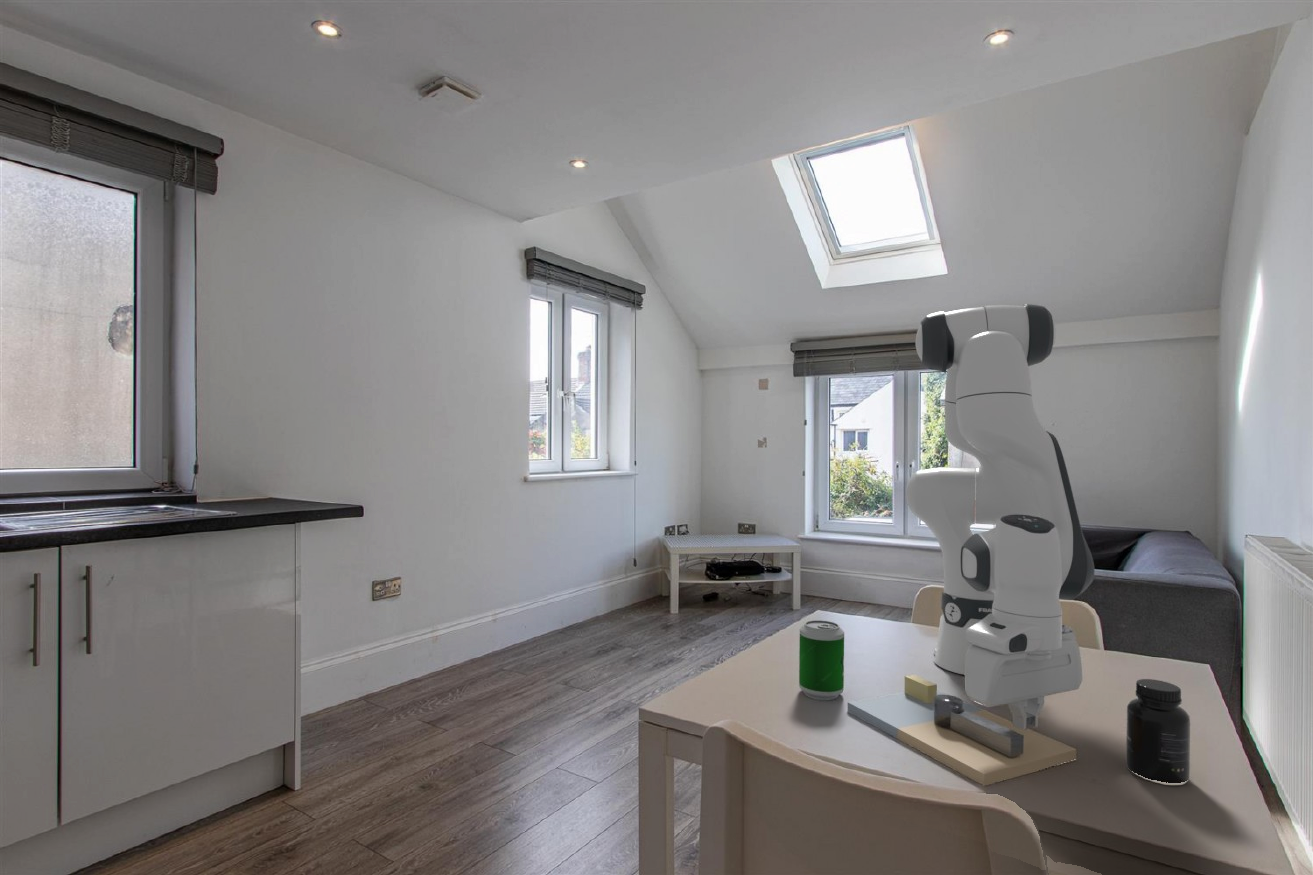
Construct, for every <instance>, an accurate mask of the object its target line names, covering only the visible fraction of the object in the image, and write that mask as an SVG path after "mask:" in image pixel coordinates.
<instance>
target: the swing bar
mask: <svg viewBox="0 0 1313 875" xmlns="http://www.w3.org/2000/svg"><path fill="white" fill-rule="evenodd" d="M963 701H964V700H963V699H962V698H960V697H957V696H954V695H950V694H948V695H936V696H934V722H935V723H936V724H937V725H939V726H942V727H945V728H951V729H953V730H955V731H957V732H959V733H961V734H963V735H965V736H967V737H970V738H972V739H974V740H976V741H978V742H980V743H982V744H984V745H986V746H988V747H990V748H992V749H994V750H997V751H999V752H1001V753H1003V754H1005V755H1007V756H1009V757H1014V756H1017V755H1021V754H1023V745H1024V735H1022V734H1019V733H1017V732H1015V731H1012V730H1010V729H1008V728H1006V727H1003V726H1001V725H999V724H997V723H994V722H992V721H990V720H987V719H985V718H983V717H981V716H978V715H976V714H974V713H972V712H969V711H967V710H965V709H963Z"/></svg>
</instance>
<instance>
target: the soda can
mask: <svg viewBox="0 0 1313 875" xmlns="http://www.w3.org/2000/svg"><path fill="white" fill-rule="evenodd" d="M798 652H799V657H798V658H799V659H798V660H799V661H798V662H799V663H798V664H799V666H798V667H799V668H798V671H799V672H798V679H799V680H798V687H799V689H800V690H801V691H802V692H803V694H804V695H805V696H807V697H808V698H811V699H813V700H819V701H831V700H835V699H837V698H839V695H841V694H842V693H844V689H845V688H844V686H845V685H844V683H845V675H844V674H845V631H844V630H843V629H842V628H841V627H840V625H839V624H838V623H836V622H834V621H829V620H823V619H822V620H821V619H819V620H818V619H815V620H807V621H805V623H804V624H803V625H802V626H800V629H799V651H798Z"/></svg>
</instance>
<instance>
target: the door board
mask: <svg viewBox="0 0 1313 875" xmlns="http://www.w3.org/2000/svg"><path fill="white" fill-rule="evenodd" d="M937 688H938V684H937V683H934V682H932V681H929V680H927V679H925V678H923V677H920V676H919V675H915V674H911V675H905V676H904V691H900V692H895V693H889V694H883V695H879V696H873V697H867V698H863V699H858V700H853V701H847V712H848V713H850V714H851V715H853V716H855V717H856V718H859V719H860V720H862V721H865V722H866V723H868V724H870V725H872V726H874V727H876V728H877V729H879V730H881V731H883V732H885V733H887V734H888V735H890V736H892V737H894V738H895V739H897V740H900V741H901V742H903V743H905V744H906V745H909V746H910V747H912V748H914V749H916V750H918V751H919V752H922V753H923V754H925V755H927V756H929V757H930V758H932V759H934V760H936V761H937V762H939V763H941V764H943V765H945V766H947V767H948V768H951V769H952V770H953V771H956V772H958V773H959V774H962V775H963V776H965V777H966V778H969V779H970V780H973V781H974V780H975V781H974V782H976V783H978V784H980V785H982V786H984V787H986V786H989V784H990V785H992V784H993V785H994V784H996V783H995V782H997V783H1000V782H1003V780H1004V781H1006V780H1007V781H1008V780H1010V779H1014V778H1018V777H1021V776H1026V775H1028V774H1033V773H1035V772H1039V770H1040V771H1043V770H1046V769H1045V768H1047V769H1049V768H1048V767H1050V766H1054V767H1056V766H1055V765H1057V764H1061V763H1064V762H1068V761H1071V760H1074V759H1076V760H1077V748H1074V747H1071V745H1068V744H1064V743H1063V742H1060V741H1058V740H1055V739H1053V738H1050V737H1049V736H1046V735H1044V734H1042V733H1040V732H1036V731H1034V730H1033V729H1031V728H1029V729H1025V730H1020V729H1018V728H1016V727H1014V726H1013V721H1011V720H1010V719H1009V720H1008V719H1007V718H1004V717H1002V716H1000V715H997V714H994V713H992V712H991V711H990V712H989V711H988V710H985V709H982V708H981V707H978V706H976V705H973V704H972V703H969V702H966V701H964V700H963V709H965V710H967V711H969V712H972V713H974V714H976V715H978V716H981V717H983V718H985V719H987V720H990V721H992V722H994V723H997V724H999V725H1001V726H1003V727H1006V728H1008V729H1010V730H1012V731H1015V732H1017V733H1019V734H1022V735H1024V745H1023V754H1021V755H1017V756H1014V757H1009V756H1007V755H1005V754H1003V753H1001V752H999V751H997V750H994V749H992V748H990V747H988V746H986V745H984V744H982V743H980V742H978V741H976V740H974V739H972V738H970V737H967V736H965V735H963V734H961V733H959V732H957V731H955V730H953V729H951V728H945V727H942V726H939V725H937V724H936V723H935V722H934V696H936V695H949V694H948V693H945V692H943V691H940V690H939V689H937ZM1068 763H1069V762H1068ZM1061 765H1062V764H1061ZM1057 766H1058V765H1057ZM1050 768H1051V767H1050ZM1042 769H1043V770H1042Z"/></svg>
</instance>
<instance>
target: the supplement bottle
mask: <svg viewBox="0 0 1313 875" xmlns="http://www.w3.org/2000/svg"><path fill="white" fill-rule="evenodd" d="M1135 684H1136V685H1135V688H1136V690H1135V696H1136V697H1137V698H1133V699H1132V700H1130V701H1129V702H1128V703H1127V706H1126V739H1125V740H1126V750H1125V751H1126V754H1125V755H1126V756H1125V757H1126V758H1125V759H1126V763H1125V764H1126V767H1127V769H1128V768H1129V769H1130V770H1131V771H1133V772H1134V773H1137V774H1138V775H1141V776H1143V777H1145V778H1148V779H1151V780H1157V781H1161V782H1166V783H1167V782H1168V783H1181V782H1185V781H1187V780H1189V781H1190V770H1191V768H1190V767H1191V766H1190V764H1191V762H1190V760H1191V758H1190V756H1191V717H1190V715H1189V714H1188V712H1187V711H1186V710H1185V709H1184V708H1182V707H1181V705H1182V702H1183V700H1182V691H1181V688H1180V687H1179V686H1178V685H1177V684H1176V685H1175V684H1174V683H1171V682H1167V681H1163V680H1160V679H1154V678H1152V679H1151V678H1140V679H1137V680H1136V683H1135ZM1129 769H1128V770H1129ZM1130 770H1129V771H1130ZM1131 771H1130V772H1131Z"/></svg>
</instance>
